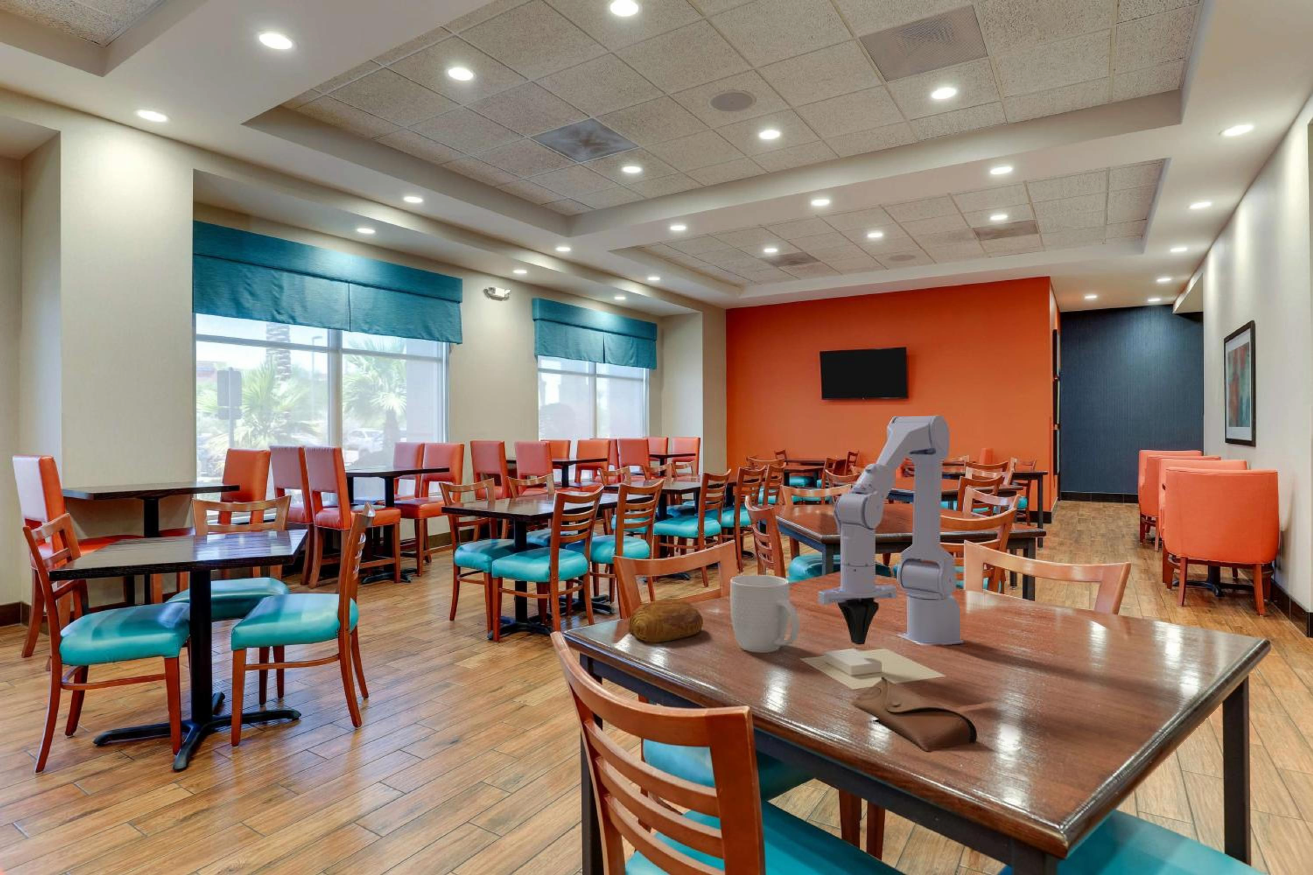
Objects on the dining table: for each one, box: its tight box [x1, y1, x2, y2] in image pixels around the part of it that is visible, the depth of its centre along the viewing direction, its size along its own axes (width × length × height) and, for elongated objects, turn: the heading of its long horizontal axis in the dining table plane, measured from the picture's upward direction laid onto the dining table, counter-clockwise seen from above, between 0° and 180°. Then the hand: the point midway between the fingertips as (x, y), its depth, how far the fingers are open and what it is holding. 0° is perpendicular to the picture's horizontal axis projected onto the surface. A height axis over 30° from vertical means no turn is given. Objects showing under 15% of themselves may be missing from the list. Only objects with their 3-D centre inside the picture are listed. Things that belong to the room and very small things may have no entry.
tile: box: [823, 648, 882, 676], centre depth 121 cm, size 2×8×6 cm
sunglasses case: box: [850, 677, 978, 753], centre depth 100 cm, size 18×7×7 cm
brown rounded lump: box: [627, 598, 704, 644], centre depth 145 cm, size 14×16×8 cm
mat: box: [799, 648, 947, 690], centre depth 121 cm, size 18×16×1 cm
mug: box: [729, 574, 800, 654], centre depth 132 cm, size 15×11×13 cm
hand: (857, 642), depth 121 cm, fingers closed
